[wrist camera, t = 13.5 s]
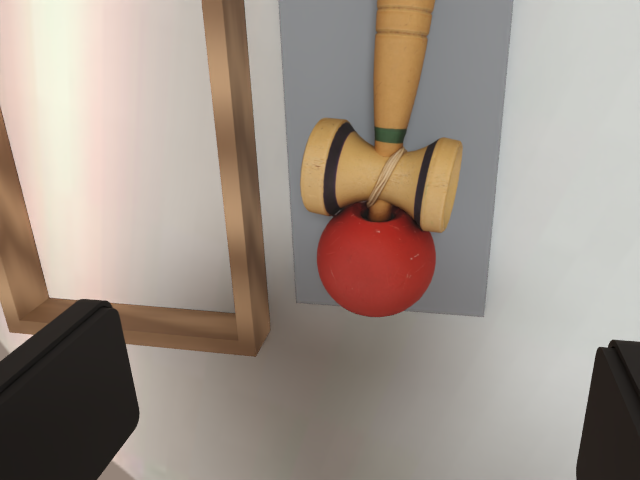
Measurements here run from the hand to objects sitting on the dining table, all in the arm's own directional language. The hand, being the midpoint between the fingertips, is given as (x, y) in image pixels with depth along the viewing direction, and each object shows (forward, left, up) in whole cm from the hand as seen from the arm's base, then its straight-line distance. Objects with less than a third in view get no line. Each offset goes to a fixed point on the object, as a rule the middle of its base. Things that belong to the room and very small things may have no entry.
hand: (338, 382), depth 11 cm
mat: (0, +1, -21) cm, 21 cm away
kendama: (+1, +1, -20) cm, 20 cm away
